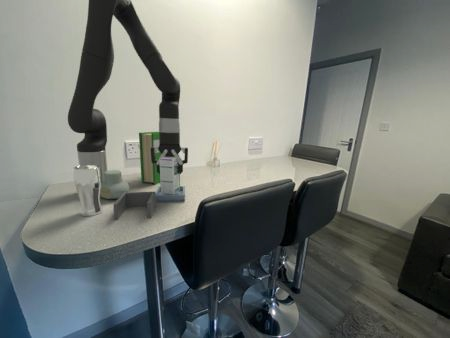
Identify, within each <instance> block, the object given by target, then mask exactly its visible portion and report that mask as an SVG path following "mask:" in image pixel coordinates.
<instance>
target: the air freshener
mask: <svg viewBox="0 0 450 338" xmlns="http://www.w3.org/2000/svg"><path fill="white" fill-rule="evenodd" d="M130 189H131V188H130V185H129V183H127V182H126V181H123V177H122V171H121V170H119V169H118V170H117V169H112V170H108V171H106V172H104V183H103V184H101V195H100V198H104V199H106V200H115V199H116V200H117V199H118V198H119V197H120V196H121V195H122V194H123V193H124V192H130Z"/></svg>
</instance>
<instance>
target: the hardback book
mask: <svg viewBox="0 0 450 338" xmlns="http://www.w3.org/2000/svg"><path fill="white" fill-rule="evenodd" d="M138 140H139V143H138V144H139V158H140V159H139V160H140V179H141V184H145V183H153V185H157V184H161V182H160V174H159V173H157V165H156V164H155V163H152V162H151V147H159V131H144V132H138ZM161 155H162V154H161V153H160V152H159V150H157V152H156V153H155V158H156V160H159V158H160V156H161Z"/></svg>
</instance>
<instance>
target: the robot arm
mask: <svg viewBox="0 0 450 338" xmlns="http://www.w3.org/2000/svg"><path fill="white" fill-rule="evenodd" d="M113 17H114V18H115V19H116V20H117V21H118V22H119V23H120V25H121V26H122V27H123V28H124V30H125V31H126V32H125V33H126V34H127V35H128V36H129V39H130V42H131V43H132V47H133V49H134V51H135V52H136V54H137V57H139V59H140V61H141V63H142V64H143V66H144V67H145V68H146V70H147V71H148V73H149V76H150V78H151V79H152V81H153V82H154V83H153V84H154V85H155V87H156V88H157V90H159V91H160V92H161V102H159V105H158V113H159V114H158V118H159V119H158V132H159V147H151V162H152V163H155V164H156V165H157V173H159V174H160V158H162V157H168V156H169V157H175V158H176V159H177V161H178V162H179V163H180V164H179V174H180V175H181V174H182V173H183V171H184V165H185V164H187V163H188V158H189V148H188V147H181V145H180V144H181V141H180V140H181V139H180V137H181V136H180V135H181V134H180V133H181V128H180V109H179V106H180V99H181V83H180V81H179V80H178V77H176V76H175V75H174V74H173V72H172V71H171V70H170V68H169V67H168V65H167V63H166V60H165V58H164V56H163V54H162V53H161V51H160V49H159V48H158V46H157V45H156V44H155V42H154V40H153V39H152V37H151V36H150V35H149V32H148V31H147V30H146V28H145V26H144V25H143V23H142V21H141V19H140V16H139V15H138V13H137V11H136V8H135V7H134V4H133V2H132V0H88V8H87V21H86V26H85V34H84V39H83V44H82V45H83V46H82V49H81V50H82V51H81V56H80V61H79V62H80V63H79V68H78V69H79V70H78V75H77V79H76V83H75V89H74V93H73V96H72V98H71V99H72V100H71V103H70V106H69V109H68V113H67V114H68V115H67V123H68V126H69V128H70V129H71V130H72V131H73V132H75V133H78V134H84V138H83V139H82V140H81V141H79V142H78V143H77V144H76V150H77V157H78V158H77V159H78V166H82V165H98V166H99V169H100V174H101V184H103V183H104V172H106V171H109V170H108V162H107V161H108V160H107V151H106V146H107V143H108V128H107V120H106V117H105V115H104V113H103V112H102V111H101V110H100V109H96V108H94V106H95V103H96V99H97V97H98V95H99V93H100V92H101V91H102V90H103V88H104V87H105V86H106V84H107V83H108V82H109V80H110V78H111V76H112V72H113V68H114V67H113V66H114V63H115V50H114V44H113V37H112V23H113V19H114V18H113ZM157 150H159V152H160V153H161V154H162V155H161V156H160V158H159V160H156V158H155V153H156V152H157ZM181 151H182V154H184V159H182V158H181V156H180V153H181Z"/></svg>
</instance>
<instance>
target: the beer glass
mask: <svg viewBox="0 0 450 338" xmlns="http://www.w3.org/2000/svg"><path fill="white" fill-rule="evenodd" d="M73 181H74V188H75V190H76V193H77V196H78V199H79V202H80V216H83V217H92V216H96V215H100V214H101V213H102V212H103V211H104V209H103V207H102V203H101V196H100V195H101V174H100V169H99V166H98V165H82V166H79V165H77V166H74V167H73Z"/></svg>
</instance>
